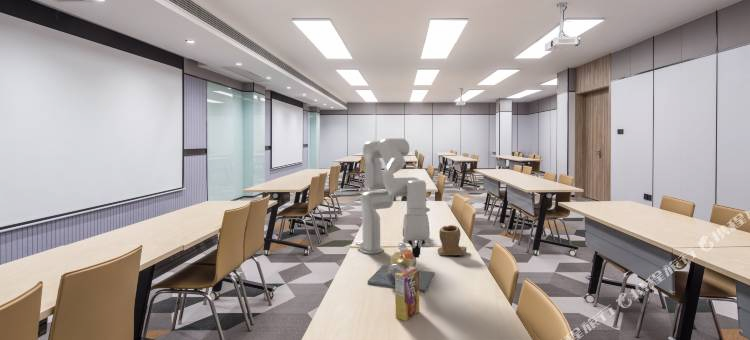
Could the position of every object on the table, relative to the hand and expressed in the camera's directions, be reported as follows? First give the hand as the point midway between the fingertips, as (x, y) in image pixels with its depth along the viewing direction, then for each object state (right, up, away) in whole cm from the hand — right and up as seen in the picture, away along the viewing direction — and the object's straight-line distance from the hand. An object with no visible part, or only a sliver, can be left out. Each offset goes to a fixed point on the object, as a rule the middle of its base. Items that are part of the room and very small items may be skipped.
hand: (416, 256), depth 139 cm
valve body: (-5, -12, +10) cm, 16 cm away
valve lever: (-4, +1, +3) cm, 5 cm away
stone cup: (+23, -9, +40) cm, 48 cm away
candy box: (-5, -15, -20) cm, 26 cm away
